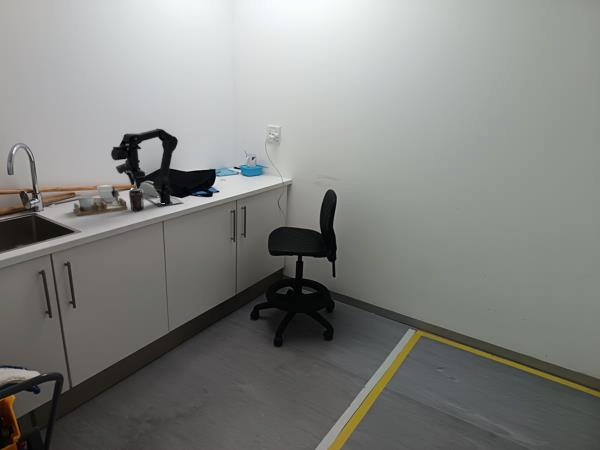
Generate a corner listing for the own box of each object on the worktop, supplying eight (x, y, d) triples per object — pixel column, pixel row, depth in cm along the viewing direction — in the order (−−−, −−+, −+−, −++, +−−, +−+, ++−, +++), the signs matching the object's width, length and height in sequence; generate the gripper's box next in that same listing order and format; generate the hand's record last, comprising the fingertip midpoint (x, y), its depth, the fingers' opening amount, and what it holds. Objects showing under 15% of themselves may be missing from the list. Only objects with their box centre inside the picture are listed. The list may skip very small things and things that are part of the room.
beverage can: (131, 212, 218) (128, 190, 214) (130, 208, 224) (128, 187, 220) (144, 211, 220) (142, 190, 217) (143, 208, 226) (141, 187, 222)
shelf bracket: (115, 209, 225) (108, 187, 221) (100, 207, 243) (94, 187, 240) (124, 206, 228) (117, 184, 225) (110, 204, 247) (103, 184, 243)
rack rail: (127, 209, 223) (126, 196, 220) (77, 216, 208) (75, 202, 205) (122, 205, 230) (121, 192, 228) (73, 211, 215) (71, 198, 213)
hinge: (165, 196, 251) (159, 182, 246) (159, 200, 249) (153, 186, 243) (150, 191, 261) (144, 178, 256) (144, 195, 258) (138, 181, 253)
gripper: (111, 156, 215) (114, 185, 220) (121, 162, 201) (124, 192, 206) (133, 155, 222) (135, 183, 227) (144, 160, 208) (146, 190, 213)
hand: (135, 187), depth 218 cm, fingers open, 9 cm apart
